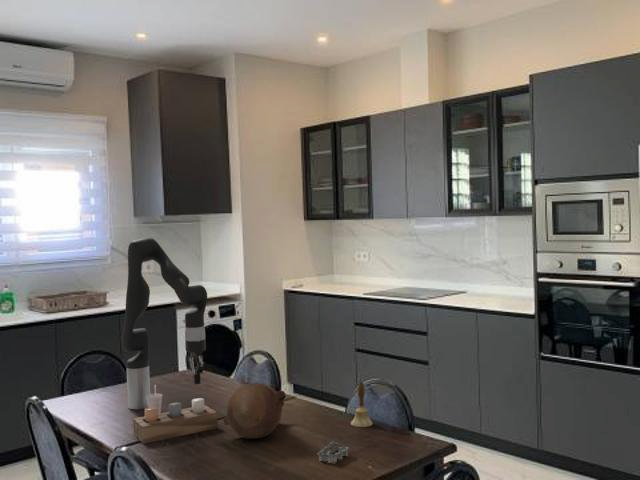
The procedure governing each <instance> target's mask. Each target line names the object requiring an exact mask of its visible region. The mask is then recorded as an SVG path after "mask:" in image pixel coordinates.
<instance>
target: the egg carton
mask: <svg viewBox="0 0 640 480" xmlns="http://www.w3.org/2000/svg"><path fill="white" fill-rule="evenodd" d="M349 448H350V447H349V446H344V445H342V446H340V444H339V443H338V442H335V440H332V441H330V442H329V443H328V444H327V446H325V447H324V448H322V449H321V450H320V451H318V452H317V453H316V454H317V455H318V460H319V462H320V461H323V462H327V461H328V462H327V464H328V463H331V462H334V463H333V464H336V463H335V462H337V461H338V460H337V459H342V460H343V457H342V456H347V457H348V456H349V451H348V449H349ZM333 451H338V452H333Z"/></svg>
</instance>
